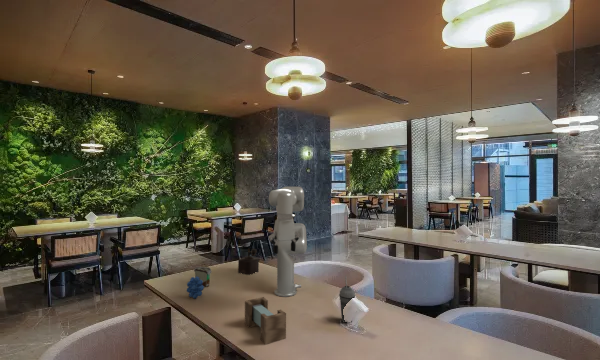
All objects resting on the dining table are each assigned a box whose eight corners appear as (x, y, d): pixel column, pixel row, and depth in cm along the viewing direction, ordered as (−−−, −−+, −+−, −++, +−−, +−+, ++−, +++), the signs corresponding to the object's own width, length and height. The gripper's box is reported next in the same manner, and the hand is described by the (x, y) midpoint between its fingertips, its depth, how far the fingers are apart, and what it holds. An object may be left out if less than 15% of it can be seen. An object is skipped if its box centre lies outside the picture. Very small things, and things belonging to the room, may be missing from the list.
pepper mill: (236, 273, 217) (237, 247, 217) (247, 269, 226) (248, 244, 226) (253, 276, 208) (254, 249, 208) (264, 272, 217) (264, 246, 218)
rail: (260, 317, 140) (260, 304, 140) (277, 332, 126) (277, 317, 126) (252, 319, 138) (252, 305, 138) (268, 335, 124) (268, 319, 124)
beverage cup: (345, 325, 137) (345, 280, 137) (335, 319, 143) (336, 275, 144) (358, 322, 140) (358, 277, 141) (348, 316, 147) (348, 273, 147)
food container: (215, 285, 191) (215, 268, 191) (207, 288, 185) (208, 271, 185) (202, 281, 197) (202, 265, 197) (194, 284, 192) (194, 267, 192)
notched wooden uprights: (263, 318, 143) (263, 297, 144) (285, 338, 125) (286, 313, 126) (244, 323, 139) (244, 300, 139) (265, 344, 121) (265, 318, 121)
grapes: (208, 297, 169) (209, 275, 170) (199, 302, 163) (200, 278, 164) (193, 294, 175) (193, 272, 175) (183, 298, 169) (183, 275, 169)
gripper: (295, 215, 163) (295, 248, 162) (265, 217, 153) (265, 252, 153) (303, 217, 156) (303, 251, 156) (272, 219, 147) (272, 255, 147)
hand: (284, 252), depth 155 cm, fingers open, 9 cm apart
